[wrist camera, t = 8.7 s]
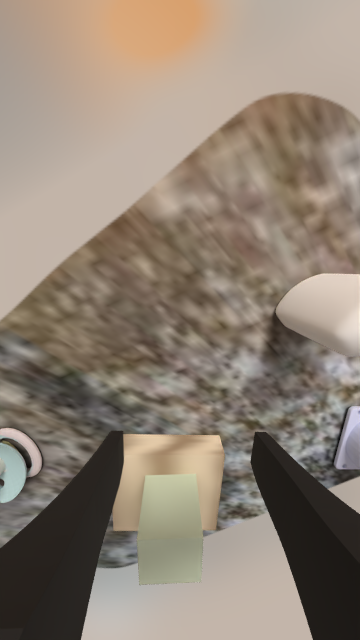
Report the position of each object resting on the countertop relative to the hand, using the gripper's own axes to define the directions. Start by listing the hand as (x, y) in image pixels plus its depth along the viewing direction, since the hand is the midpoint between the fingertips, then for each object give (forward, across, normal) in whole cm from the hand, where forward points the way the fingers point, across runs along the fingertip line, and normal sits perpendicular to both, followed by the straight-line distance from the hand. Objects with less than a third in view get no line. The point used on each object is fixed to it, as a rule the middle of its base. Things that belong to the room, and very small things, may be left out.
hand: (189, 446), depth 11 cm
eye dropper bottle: (+10, -11, -7) cm, 16 cm away
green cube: (+7, +1, +13) cm, 15 cm away
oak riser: (+10, +1, +13) cm, 16 cm away
